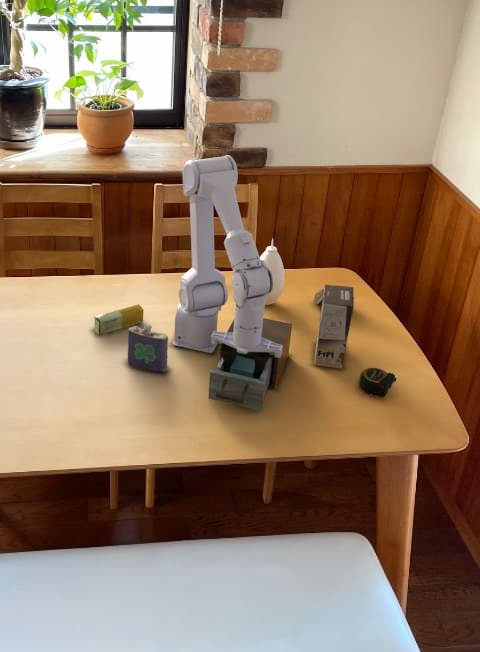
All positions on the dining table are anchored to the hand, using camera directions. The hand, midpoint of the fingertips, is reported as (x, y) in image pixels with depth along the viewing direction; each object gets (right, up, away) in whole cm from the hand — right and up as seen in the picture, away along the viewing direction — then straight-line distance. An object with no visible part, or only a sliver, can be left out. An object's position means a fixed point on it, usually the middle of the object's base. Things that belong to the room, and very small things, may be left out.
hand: (243, 377), depth 167 cm
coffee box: (+21, +4, +14) cm, 26 cm away
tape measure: (+29, -3, +4) cm, 30 cm away
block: (0, -1, +1) cm, 1 cm away
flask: (-20, +2, +9) cm, 22 cm away
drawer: (-1, -4, 0) cm, 4 cm away
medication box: (-27, +11, +23) cm, 37 cm away
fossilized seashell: (+25, +16, +32) cm, 44 cm away
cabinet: (+3, +2, +10) cm, 11 cm away
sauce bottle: (+9, +17, +34) cm, 39 cm away
